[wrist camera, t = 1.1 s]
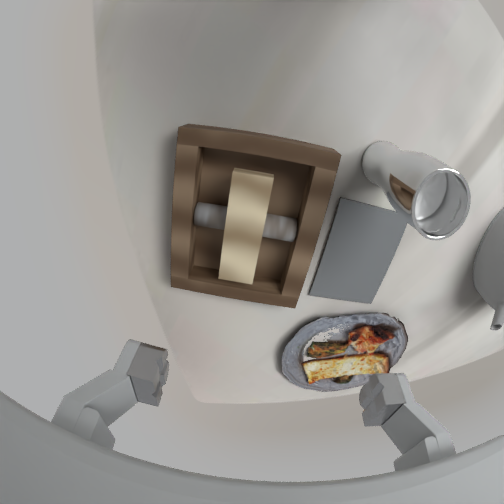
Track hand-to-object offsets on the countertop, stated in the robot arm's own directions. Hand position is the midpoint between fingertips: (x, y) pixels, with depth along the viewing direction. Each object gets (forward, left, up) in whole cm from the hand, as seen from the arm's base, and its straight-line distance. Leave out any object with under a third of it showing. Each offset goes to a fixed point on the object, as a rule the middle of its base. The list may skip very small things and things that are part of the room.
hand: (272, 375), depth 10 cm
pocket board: (+6, -2, -28) cm, 29 cm away
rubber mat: (+9, +15, -28) cm, 33 cm away
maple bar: (+6, -2, -24) cm, 24 cm away
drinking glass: (-5, +14, -28) cm, 32 cm away
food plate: (+30, +21, -29) cm, 46 cm away
